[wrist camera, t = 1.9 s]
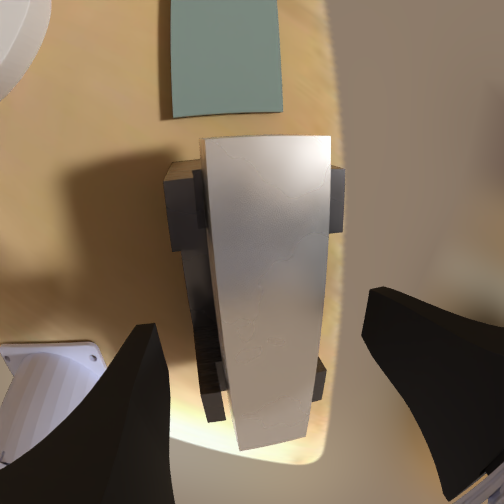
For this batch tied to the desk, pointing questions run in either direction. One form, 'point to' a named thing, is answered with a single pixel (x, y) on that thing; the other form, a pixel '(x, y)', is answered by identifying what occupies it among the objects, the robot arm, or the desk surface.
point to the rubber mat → (225, 57)
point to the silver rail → (268, 274)
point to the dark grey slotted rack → (199, 274)
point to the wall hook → (20, 38)
